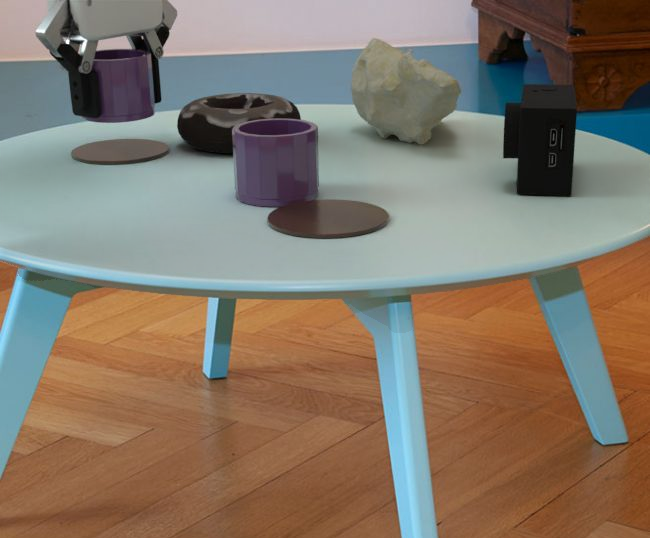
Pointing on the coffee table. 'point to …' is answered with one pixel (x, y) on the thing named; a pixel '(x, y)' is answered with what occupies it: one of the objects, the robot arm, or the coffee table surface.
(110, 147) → the coaster
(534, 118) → the digital camera
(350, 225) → the coaster
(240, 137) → the ramekin
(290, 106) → the donut
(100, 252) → the coffee table surface
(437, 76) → the pale rock
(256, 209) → the coffee table surface
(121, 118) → the ramekin
